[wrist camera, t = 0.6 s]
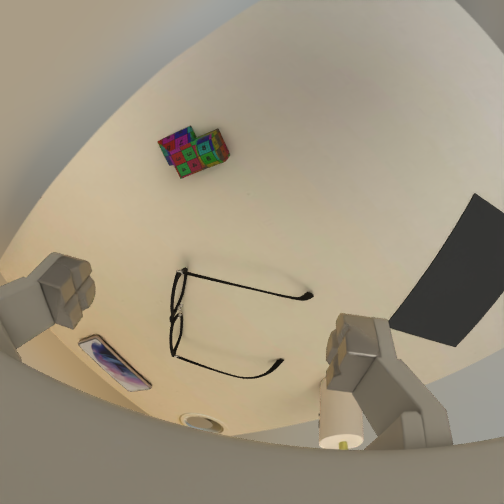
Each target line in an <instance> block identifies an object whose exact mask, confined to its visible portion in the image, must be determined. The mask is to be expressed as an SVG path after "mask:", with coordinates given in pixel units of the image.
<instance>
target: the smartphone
mask: <svg viewBox="0 0 504 504" xmlns="http://www.w3.org/2000/svg"><path fill="white" fill-rule="evenodd" d="M78 345H79V346H80V347H81V348H82V349H83V350H84V351H85V352H86V353H87V354H88V355H89V356H90V357H91V358H92V359H93V360H94V361H95V362H96V363H97V364H98V365H99V366H100V367H102V368H103V369H104V370H105V371H106V372H107V373H108V374H109V375H110V376H112V377H113V378H114V379H115V380H116V381H117V382H118V383H119V384H121V385H122V386H123V387H124V388H125V389H126V390H128V391H130V392H133V391H141V390H149V389H151V385H150V384H149V383H148V382H147V381H145V380H144V379H143V378H142V377H141V376H140V375H139V374H138V373H136V372H135V371H134V370H133V369H132V368H131V367H130V366H129V365H128V364H127V363H126V362H125V361H123V360H122V359H121V358H120V357H119V356H118V355H117V354H116V353H115V352H114V351H113V350H112V349H111V348H110V347H109V346H108V345H107V344H106V343H105V342H104V341H103V340H102V339H101V338H100V337H99V336H97V335H95V336H92V337H89V338H87V339H84V340H81V341H79V342H78Z"/></svg>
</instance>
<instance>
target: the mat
mask: <svg viewBox="0 0 504 504" xmlns="http://www.w3.org/2000/svg"><path fill="white" fill-rule="evenodd" d="M503 291H504V213H502V212H501V211H500V210H498V209H497V208H495V207H494V206H493V205H491V204H490V203H488V202H487V201H485V200H484V199H482V198H481V197H480V196H478V195H477V194H474V195H473V197H472V199H471V201H470V203H469V204H468V206H467V208H466V210H465V211H464V213H463V215H462V216H461V218H460V220H459V221H458V223H457V225H456V226H455V228H454V230H453V231H452V233H451V234H450V236H449V238H448V239H447V241H446V242H445V244H444V245H443V247H442V249H441V250H440V252H439V253H438V255H437V256H436V258H435V259H434V261H433V262H432V263H431V265H430V266H429V268H428V269H427V271H426V272H425V274H424V275H423V276H422V278H421V279H420V281H419V282H418V283H417V285H416V286H415V287H414V289H413V290H412V291H411V293H410V294H409V295H408V297H407V298H406V299H405V301H404V302H403V303H402V305H401V306H400V307H399V309H398V310H397V311H396V312H395V314H394V315H393V316H392V317H391V319H390V320H389V321H388V322H389V326H390V328H392V329H395V330H398V331H402V332H405V333H408V334H412V335H415V336H419V337H422V338H425V339H429V340H432V341H436V342H439V343H443V344H446V345H450V346H453V347H456V346H457V345H458V344H459V343H460V342H461V341H462V340H463V339H464V338H465V336H466V335H467V334H468V333H469V332H470V331H471V330H472V329H473V328H474V327H475V325H476V324H477V323H478V322H479V321H480V320H481V319H482V317H483V316H484V315H485V314H486V313H487V311H488V310H489V309H490V308H491V307H492V305H493V304H494V303H495V302H496V300H497V299H498V298H499V297H500V295H501V294H502V293H503Z"/></svg>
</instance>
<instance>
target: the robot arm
mask: <svg viewBox="0 0 504 504" xmlns="http://www.w3.org/2000/svg"><path fill="white" fill-rule="evenodd" d="M91 272H92V269H91V265H90V263H89V262H88V261H86V260H82V259H79V258H75V257H72V256H68V255H64V254H60V253H57V252H53V253H51V254H49V255H48V256H47V257H46V258H45V259H44V260H43V261H42V262H41V263H40V264H39V265H38V266H37V267H36V268H35V269H34V270H33V271H32V272H31V273H30V274H29V275H28V276H27V277H22V278H19V279H17V280H14V281H12V282H10V283H7V284H5V285H3V286H1V287H0V504H504V437H499V438H494V439H489V440H484V441H478V442H472V443H466V444H458V445H453V441H452V435H451V430H450V425H449V421H448V416H447V411H446V409H445V408H444V407H443V406H442V405H441V404H440V402H439V401H438V400H437V399H436V398H435V397H434V395H433V394H432V393H431V392H430V391H429V390H428V389H427V388H426V386H425V385H424V384H423V383H422V382H421V381H420V380H419V379H418V377H417V376H416V375H415V374H414V373H413V372H412V371H411V370H410V369H409V367H408V366H407V365H406V364H405V363H404V362H403V361H402V360H401V359H397V356H396V352H395V347H394V343H393V339H392V335H391V330H390V326H389V322H388V320H387V319H383V318H375V317H366V316H359V315H352V314H345V313H340V315H339V316H338V318H337V320H336V329H335V330H334V331H332V332H331V334H330V337H329V339H328V343H327V348H326V361H327V362H328V364H329V367H328V369H327V371H326V389H327V390H335V391H343V392H351V393H352V395H353V397H354V398H355V400H356V401H357V403H358V405H359V406H360V408H361V410H362V411H363V413H364V414H365V416H366V418H367V420H368V421H369V423H370V424H371V426H372V428H373V430H374V431H375V433H376V435H377V436H378V437H377V438H376V439H375V440H374V441H373V442H372V443H371V444H370V445H368V446H367V447H366V448H365V449H364V450H340V449H322V448H309V447H299V446H289V445H281V444H273V443H266V442H260V441H254V440H247V439H242V438H237V437H232V436H226V435H222V434H217V433H212V432H208V431H204V430H199V429H195V428H191V427H187V426H183V425H180V424H176V423H172V422H169V421H165V420H162V419H158V418H155V417H152V416H149V415H145V414H142V413H139V412H136V411H133V410H130V409H127V408H124V407H121V406H119V405H116V404H113V403H110V402H108V401H105V400H103V399H100V398H98V397H95V396H93V395H90V394H88V393H85V392H83V391H81V390H78V389H76V388H74V387H71V386H69V385H67V384H65V383H62V382H60V381H58V380H56V379H54V378H52V377H50V376H48V375H45V374H44V373H42V372H40V371H38V370H36V369H34V368H32V367H30V366H28V365H26V364H24V363H22V360H21V357H20V355H19V354H18V352H17V350H16V349H17V348H19V347H20V346H22V345H23V344H25V343H26V342H28V341H29V340H31V339H32V338H34V337H35V336H37V335H38V334H40V333H42V332H43V331H45V330H46V329H48V328H50V327H51V326H53V325H54V324H55V323H56V324H59V325H62V326H65V327H67V328H70V329H74V328H75V327H76V325H77V324H78V322H79V321H80V319H81V318H82V317H83V314H82V311H83V310H85V309H87V308H89V307H90V305H91V304H92V302H93V300H94V297H95V283H94V281H93V279H92V278H91V277H90V274H91Z"/></svg>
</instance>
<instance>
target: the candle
mask: <svg viewBox="0 0 504 504" xmlns="http://www.w3.org/2000/svg"><path fill="white" fill-rule="evenodd" d="M319 416H320V420H319V446H320V447H322V448H324V449H340V450H348V449H351V448H355V447H357V446H359V445H360V444H362V443H363V440H364V438H363V418H362V410H361V408H360V406H359V405H358V403H357V401H356V400H355V398H354V397H353V395H352V393H351V392H343V391H335V390H327V389H326V377H325V378H324V379H323V380H322V381H321V384H320V414H319Z"/></svg>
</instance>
